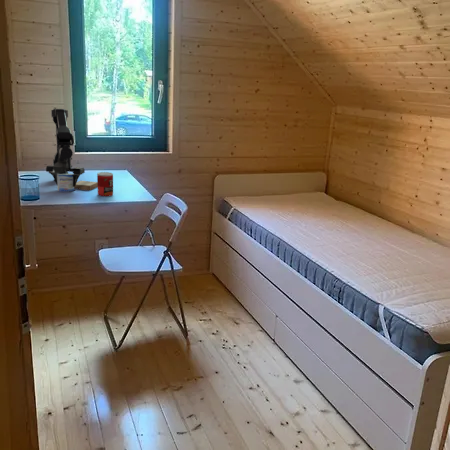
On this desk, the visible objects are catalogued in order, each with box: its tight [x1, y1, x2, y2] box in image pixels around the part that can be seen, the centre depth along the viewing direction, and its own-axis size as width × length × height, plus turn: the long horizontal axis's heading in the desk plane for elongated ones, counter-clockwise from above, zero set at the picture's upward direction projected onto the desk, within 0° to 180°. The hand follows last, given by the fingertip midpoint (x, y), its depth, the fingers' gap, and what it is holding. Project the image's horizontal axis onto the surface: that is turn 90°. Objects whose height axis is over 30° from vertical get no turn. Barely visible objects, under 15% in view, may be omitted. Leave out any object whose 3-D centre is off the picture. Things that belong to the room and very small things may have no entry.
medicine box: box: [56, 173, 75, 193], centre depth 247 cm, size 8×4×9 cm, turn 117°
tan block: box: [74, 180, 98, 191], centre depth 257 cm, size 10×10×3 cm
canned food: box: [96, 171, 114, 197], centre depth 243 cm, size 8×8×11 cm
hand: (65, 185), depth 248 cm, fingers closed on medicine box, 9 cm apart
